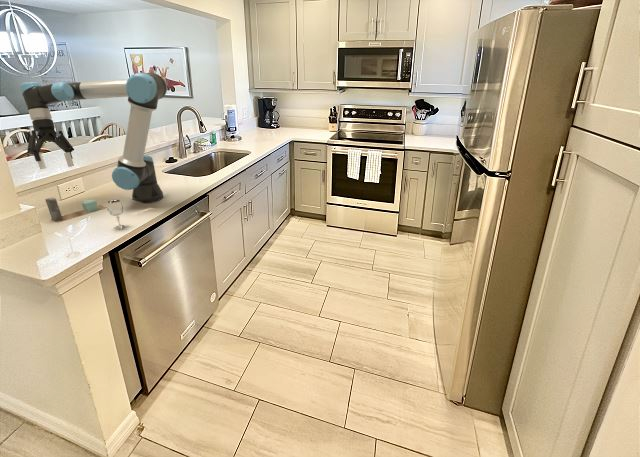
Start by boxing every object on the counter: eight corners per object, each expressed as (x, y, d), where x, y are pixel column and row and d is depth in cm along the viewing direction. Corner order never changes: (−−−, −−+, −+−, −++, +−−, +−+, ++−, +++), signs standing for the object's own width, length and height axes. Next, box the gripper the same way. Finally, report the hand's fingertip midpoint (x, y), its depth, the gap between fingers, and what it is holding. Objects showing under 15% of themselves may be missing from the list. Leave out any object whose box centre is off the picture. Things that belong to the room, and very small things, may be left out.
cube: (93, 207, 173) (91, 199, 171) (98, 209, 171) (95, 200, 169) (83, 210, 170) (81, 201, 168) (88, 212, 168) (85, 203, 166)
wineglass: (113, 225, 156) (107, 200, 151) (128, 223, 158) (122, 198, 153) (111, 230, 151) (104, 204, 146) (126, 228, 153) (120, 202, 148)
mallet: (100, 207, 177) (94, 186, 173) (107, 209, 174) (102, 188, 169) (51, 221, 160) (43, 198, 156) (58, 224, 157) (50, 201, 152)
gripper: (61, 122, 169) (75, 166, 173) (5, 120, 146) (23, 171, 150) (73, 119, 167) (87, 164, 171) (18, 116, 143) (36, 168, 148)
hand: (57, 167), depth 160 cm, fingers open, 13 cm apart
